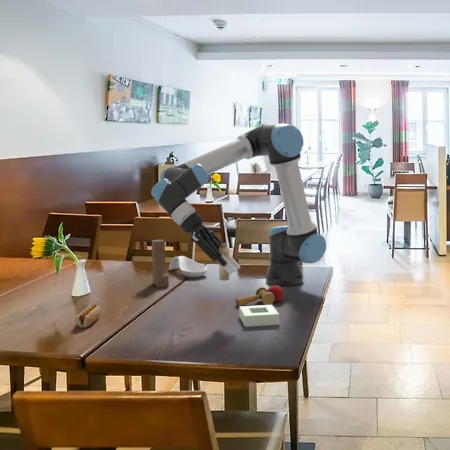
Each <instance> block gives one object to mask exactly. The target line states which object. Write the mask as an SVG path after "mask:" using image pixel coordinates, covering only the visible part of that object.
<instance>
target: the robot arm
mask: <svg viewBox="0 0 450 450" xmlns="http://www.w3.org/2000/svg"><path fill="white" fill-rule="evenodd" d="M303 147H304V137H303V134H302V132H301V131H300V130H299V128H298V127H297V126H295V125H293V124H289V123H276V124H262V125H260V126H257V127H256V128H253V129H251V130H248V131H247V132H245V133H242V134H241V135H239V136H237V139H236V140H234V141H231V142H228V143H227V144H224V145H222V146H219V147H218V148H217V147H216V148H215V149H213V150H211V151H208V152H206V153H204V154H201V155H200V156H197V157H194V158H192V159H190V160H188V161H185V162H183V163H181V164H179V165H176V166H174V167H173V166H172V167H166V168H164V169H163V170H162V172H161V173H160V177H159V181H157V183H155V184H154V185H153V187H152V188H151V196H152V197H153V199H155V201H156V202H157V204H159V205H160V207H162V208H163V210H164V211H166V213H167V214H168V215H169V216H170V218H172V220H173V222H175V223H176V224H177V225H178V226H180V229H181V230H182V231H183V232H184V233H185V234H186V235H190V234H191V238H190V240H191V242H193V243H195V244H196V246H198V247H199V248H200V249H201V250H202V251H203V252H204V253H205V254H206V255H207V256H208V258H210V260H212V261H213V262H214V263H215V262H217V263H218V264H219V263H220V264H221V266H222V267H223V268H224V269H225V270H226V271H227V272H228V273H229V276H232V274H233V273H236V272H237V271H239V269H240V268H241V266H240V265H239V263H238V262H237V261H236V260H235V259H234V257H232V255H230V254H229V261H228V259H227V258H226V257H225V256H224V255H222V256H221V254H220V252H219V248H220V247H221V243H224V242H223V241H222V240H221V238H219V236H218V235H217V234H216V233H215V231H214V230H213V228H212V227H209V228H208V227H206V226H205V225H204V224H203V222H204V218H203V217H202V215H201V214H200V213H199V212H197V211H196V208H194V207H193V205H191V203H190V202H189V201H188V200H187V199H188V197H190V196H191V195H192V194H193V193H195V192H197V191H198V190H199V189H201V187H203V186H204V185H205V184H206V183H207V182H208V181H209V179H210V178H209V177H210V175H211V174H213V173H216V172H218V171H220V170H222V169H224V168H226V167H229V166H231V165H233V164H236V163H237V162H240V161H243V160H244V159H245V160H250V159H253V158H256V157H262V156H265V157H266V156H267V157H268V160H269V165H271V166H272V167H274V168H275V173H276V176H277V181H278V185H279V189H280V193H281V194H280V195H281V197H282V203H283V207H284V210H285V215H286V219H287V224H288V225H279V226H273V227H271V228H270V229H269V230H270V231H269V236H268V237H269V265H268V268H267V271H266V275H265V282H266V283H267V284H268V285H271V286H274V285H277V286H279V287H289V286H290V287H291V286H297V285H301V284H303V282H304V275H303V272H302V269H301V266H300V263H299V262H301V263H302V264H316V263H318V262H320V260H322V258H323V257H324V254H325V253H326V250H327V241H326V238H325V237H324V236H323V235H322V234H321V233H319V232H318V227H317V225H316V223H314V222H312V220H311V215H310V210H309V206H308V205H309V204H308V203H307V201H308V200H307V197H306V193H305V192H306V191H305V188H304V184H303V178H302V176H301V171H300V165H299V161H300V159H301V158H302V156H301V152H302V150H303Z"/></svg>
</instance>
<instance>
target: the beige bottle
mask: <svg viewBox="0 0 450 450" xmlns="http://www.w3.org/2000/svg"><path fill="white" fill-rule="evenodd" d="M219 252H220V254H221V256H222V255H224V256H225V257H226V258H227V259H228V261H229V255H230V247H227V243H226V242H223V243H221V247H220V248H219ZM218 264H219V265H218V269H219V277H218V279H219V281H224V282H225V281H229V280H230V274H229V273H228V272H227V271H226V270H225V269H224V268H223V267H222V266H221V264H220V263H219V262H218Z"/></svg>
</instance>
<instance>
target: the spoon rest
mask: <svg viewBox="0 0 450 450" xmlns="http://www.w3.org/2000/svg"><path fill="white" fill-rule="evenodd" d="M173 269H174V270H178V269H179V271H180V272H181V274H182V275H183V276H185V277H186V278H189V279H190V278H191V279H194V278H195V279H196V278H200V277H202V276H204V275H205V274H206V273H207V272H208V267H207V266H205V265H204V264H201V263H199V262H196V261H195V260H192V259H191V258H189V257H187V256H185V255H179V256H174V257H172V258H171V260H170V262H169V266H168V270H170V271H171V270H172V271H173Z"/></svg>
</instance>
